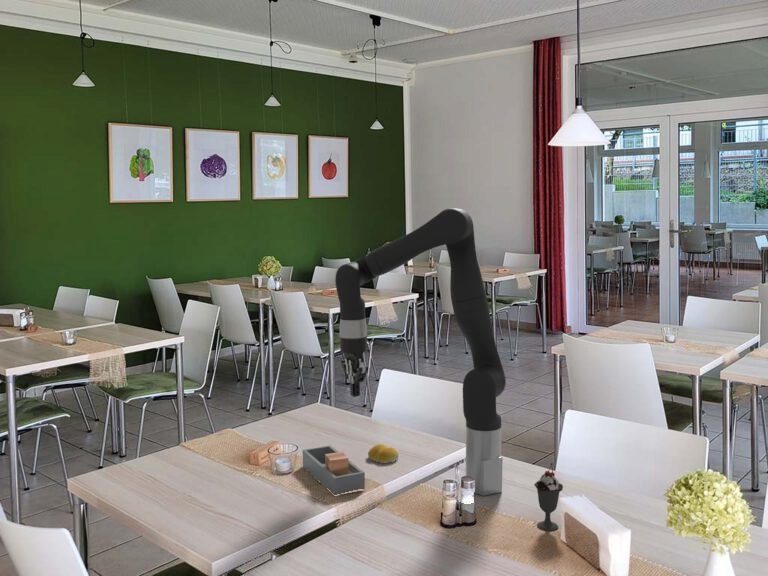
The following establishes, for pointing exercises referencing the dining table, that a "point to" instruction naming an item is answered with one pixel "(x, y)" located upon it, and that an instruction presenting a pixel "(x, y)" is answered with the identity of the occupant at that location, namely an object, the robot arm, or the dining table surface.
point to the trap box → (336, 485)
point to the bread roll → (382, 454)
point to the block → (337, 463)
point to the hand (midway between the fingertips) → (355, 395)
